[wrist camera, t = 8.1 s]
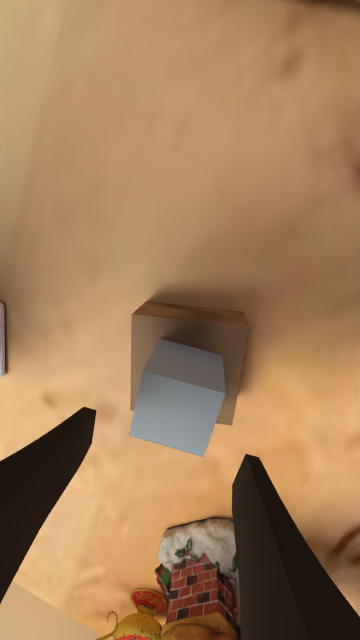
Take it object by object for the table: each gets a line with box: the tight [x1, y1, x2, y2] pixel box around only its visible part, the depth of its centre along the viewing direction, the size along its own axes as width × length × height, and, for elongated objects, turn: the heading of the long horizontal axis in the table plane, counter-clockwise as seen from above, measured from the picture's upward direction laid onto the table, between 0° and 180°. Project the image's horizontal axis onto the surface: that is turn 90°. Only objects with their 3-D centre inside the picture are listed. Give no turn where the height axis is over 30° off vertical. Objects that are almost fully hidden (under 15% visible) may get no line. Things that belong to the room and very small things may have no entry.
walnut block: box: [131, 302, 249, 426], centre depth 20 cm, size 8×8×4 cm
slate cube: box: [129, 339, 226, 457], centre depth 16 cm, size 4×4×4 cm
